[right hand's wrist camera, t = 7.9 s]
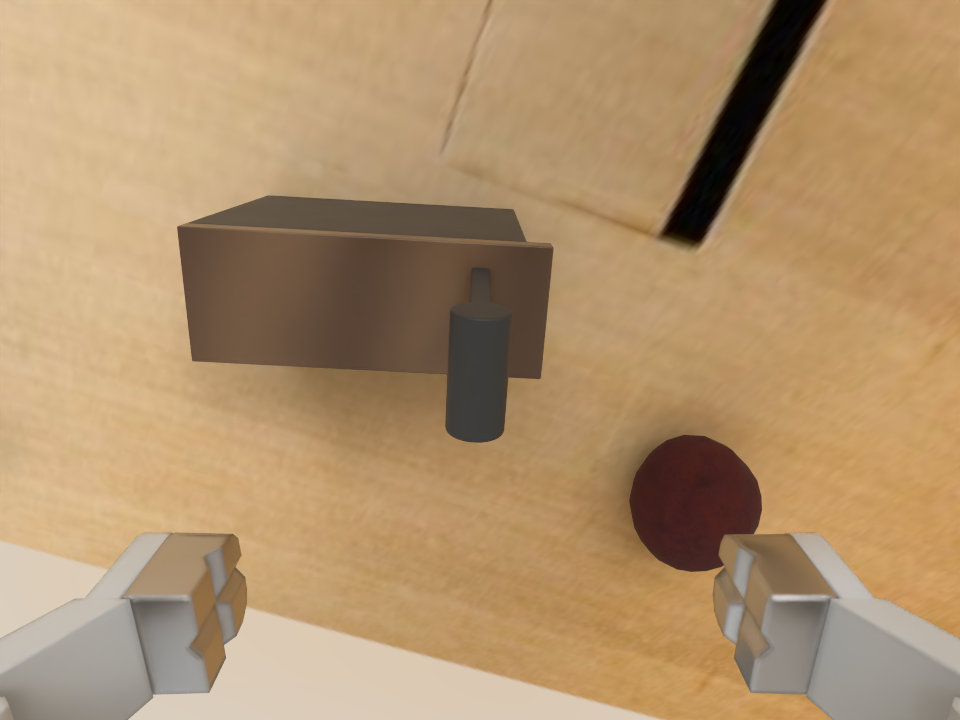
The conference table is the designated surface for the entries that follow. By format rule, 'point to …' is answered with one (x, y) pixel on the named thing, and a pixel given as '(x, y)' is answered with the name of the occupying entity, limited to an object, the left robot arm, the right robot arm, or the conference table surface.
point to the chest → (372, 218)
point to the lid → (373, 308)
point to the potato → (693, 501)
